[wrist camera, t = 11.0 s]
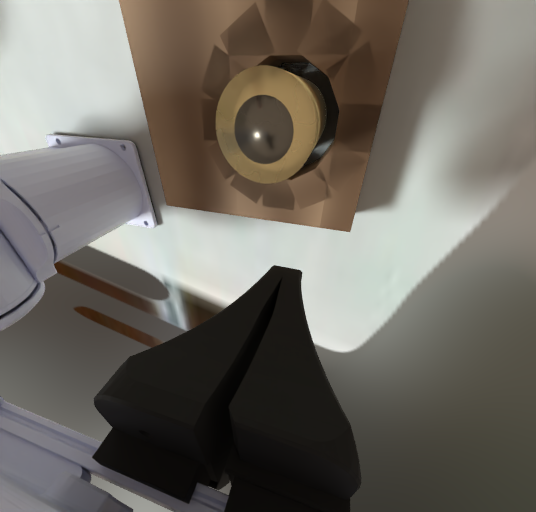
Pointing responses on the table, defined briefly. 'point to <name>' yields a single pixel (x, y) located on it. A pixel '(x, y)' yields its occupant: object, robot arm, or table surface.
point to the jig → (246, 56)
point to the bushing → (269, 123)
